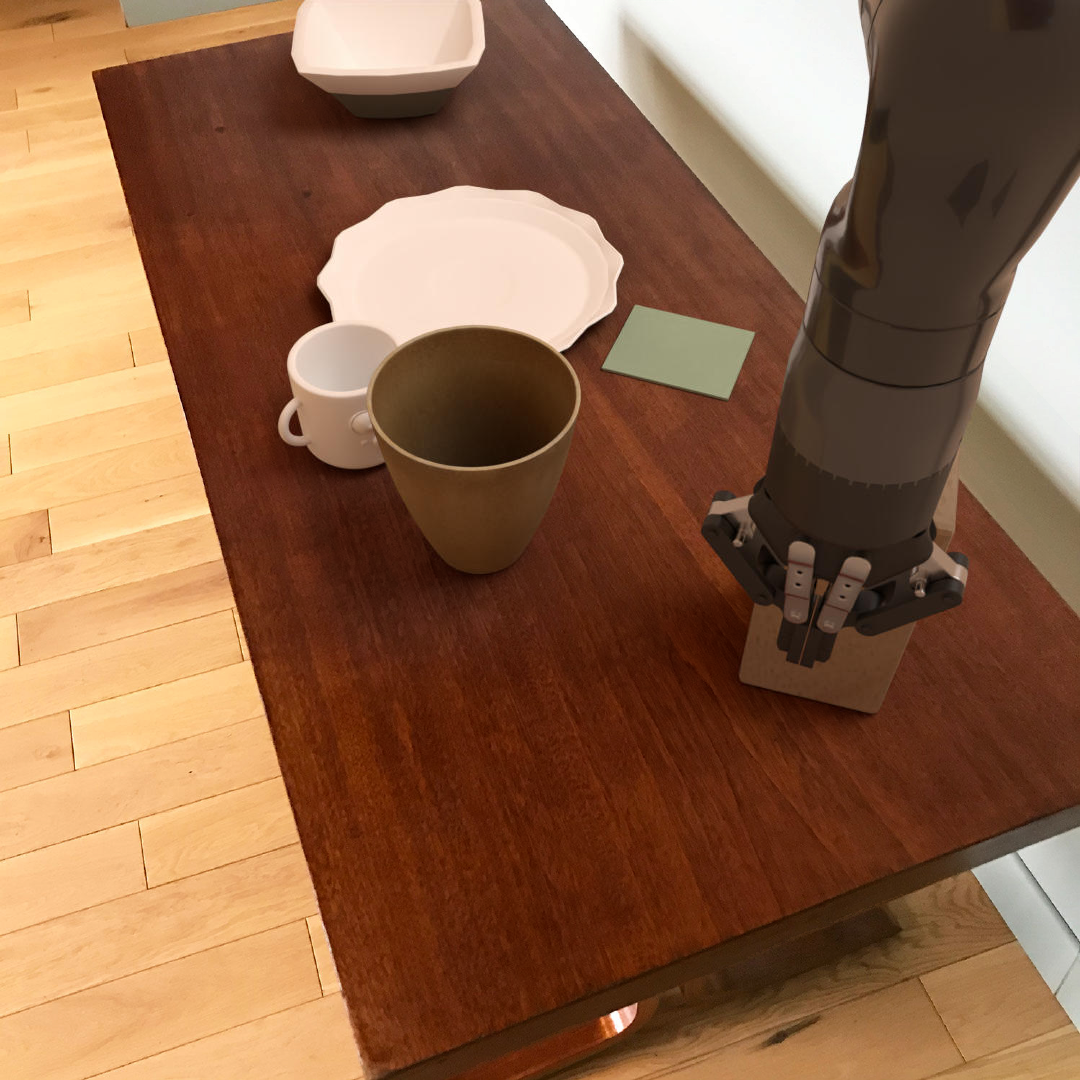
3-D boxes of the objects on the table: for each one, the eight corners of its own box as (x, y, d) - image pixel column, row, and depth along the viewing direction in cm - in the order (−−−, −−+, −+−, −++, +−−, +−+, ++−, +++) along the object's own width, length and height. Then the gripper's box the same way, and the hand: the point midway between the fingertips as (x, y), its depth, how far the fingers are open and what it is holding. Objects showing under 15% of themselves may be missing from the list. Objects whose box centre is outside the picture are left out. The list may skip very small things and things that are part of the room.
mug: (324, 511, 92) (306, 431, 85) (261, 443, 97) (238, 363, 90) (442, 445, 97) (434, 365, 90) (376, 384, 102) (363, 303, 95)
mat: (754, 334, 106) (755, 332, 106) (727, 401, 100) (728, 398, 100) (634, 306, 109) (635, 304, 109) (601, 369, 103) (601, 367, 103)
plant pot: (376, 609, 85) (348, 462, 73) (405, 470, 95) (384, 319, 83) (571, 620, 84) (575, 473, 72) (580, 478, 94) (585, 327, 82)
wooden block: (736, 684, 80) (780, 496, 65) (759, 580, 87) (804, 386, 71) (877, 718, 79) (956, 532, 63) (890, 609, 85) (965, 416, 70)
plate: (366, 195, 122) (363, 175, 120) (633, 217, 119) (635, 197, 117) (286, 371, 103) (282, 351, 101) (602, 402, 100) (603, 382, 98)
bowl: (482, 48, 144) (479, -20, 138) (491, 140, 129) (488, 69, 123) (311, 55, 143) (299, -13, 137) (299, 149, 128) (286, 78, 122)
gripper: (691, 434, 46) (663, 670, 59) (1025, 519, 43) (916, 749, 56) (738, 325, 50) (702, 567, 63) (1044, 394, 47) (939, 634, 60)
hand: (802, 652), depth 60 cm, fingers closed
